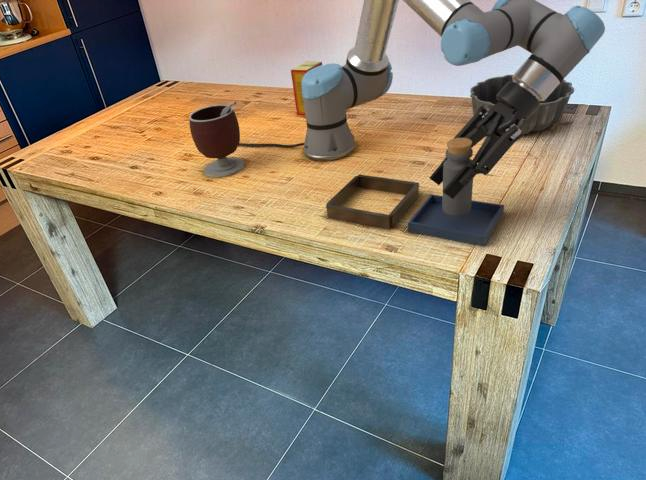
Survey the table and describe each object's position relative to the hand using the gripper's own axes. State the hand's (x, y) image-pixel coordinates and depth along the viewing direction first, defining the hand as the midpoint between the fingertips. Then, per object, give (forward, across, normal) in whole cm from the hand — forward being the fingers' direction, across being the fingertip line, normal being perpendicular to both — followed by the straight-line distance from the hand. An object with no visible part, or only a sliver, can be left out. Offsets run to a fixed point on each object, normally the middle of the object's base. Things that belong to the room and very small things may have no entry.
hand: (440, 188), depth 104 cm
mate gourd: (+37, +56, +24) cm, 71 cm away
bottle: (+2, 0, -7) cm, 7 cm away
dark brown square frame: (+14, +15, +1) cm, 20 cm away
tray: (+4, 0, -9) cm, 10 cm away
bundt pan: (-23, +42, -36) cm, 60 cm away
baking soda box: (+13, +90, 0) cm, 91 cm away
